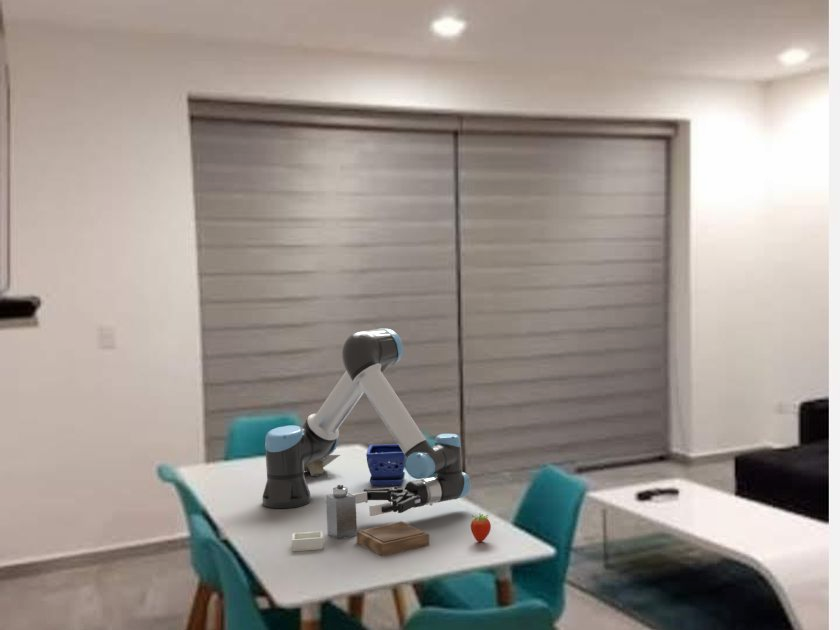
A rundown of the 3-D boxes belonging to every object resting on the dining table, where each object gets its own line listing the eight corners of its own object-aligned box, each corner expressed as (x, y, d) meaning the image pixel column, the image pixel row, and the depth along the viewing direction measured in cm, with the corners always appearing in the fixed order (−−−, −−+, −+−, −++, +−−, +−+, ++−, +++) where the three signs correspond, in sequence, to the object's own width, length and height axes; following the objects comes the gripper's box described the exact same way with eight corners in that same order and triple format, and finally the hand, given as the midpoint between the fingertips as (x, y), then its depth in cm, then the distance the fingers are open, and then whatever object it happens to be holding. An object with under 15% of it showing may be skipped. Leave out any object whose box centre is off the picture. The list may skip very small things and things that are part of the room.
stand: (357, 542, 236) (356, 530, 236) (401, 532, 244) (401, 520, 244) (383, 556, 225) (382, 543, 224) (429, 544, 232) (428, 532, 232)
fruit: (478, 537, 237) (477, 508, 236) (494, 540, 233) (493, 511, 233) (466, 543, 233) (465, 513, 232) (483, 546, 229) (482, 516, 229)
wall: (286, 490, 310) (303, 467, 301) (281, 468, 315) (297, 445, 306) (327, 489, 320) (345, 467, 311) (321, 468, 325) (339, 446, 316)
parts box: (292, 551, 231) (292, 540, 231) (293, 544, 237) (292, 533, 237) (323, 549, 232) (322, 537, 232) (322, 542, 238) (322, 531, 238)
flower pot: (406, 487, 293) (405, 451, 292) (367, 488, 293) (365, 452, 292) (408, 477, 306) (406, 443, 305) (370, 478, 306) (368, 444, 306)
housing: (327, 534, 245) (325, 485, 244) (346, 530, 248) (344, 481, 247) (337, 539, 240) (335, 489, 239) (357, 535, 243) (355, 485, 242)
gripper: (446, 514, 247) (381, 529, 235) (400, 496, 267) (338, 509, 256) (445, 488, 246) (380, 501, 235) (399, 472, 267) (336, 483, 256)
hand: (358, 505), depth 245 cm, fingers open, 13 cm apart
